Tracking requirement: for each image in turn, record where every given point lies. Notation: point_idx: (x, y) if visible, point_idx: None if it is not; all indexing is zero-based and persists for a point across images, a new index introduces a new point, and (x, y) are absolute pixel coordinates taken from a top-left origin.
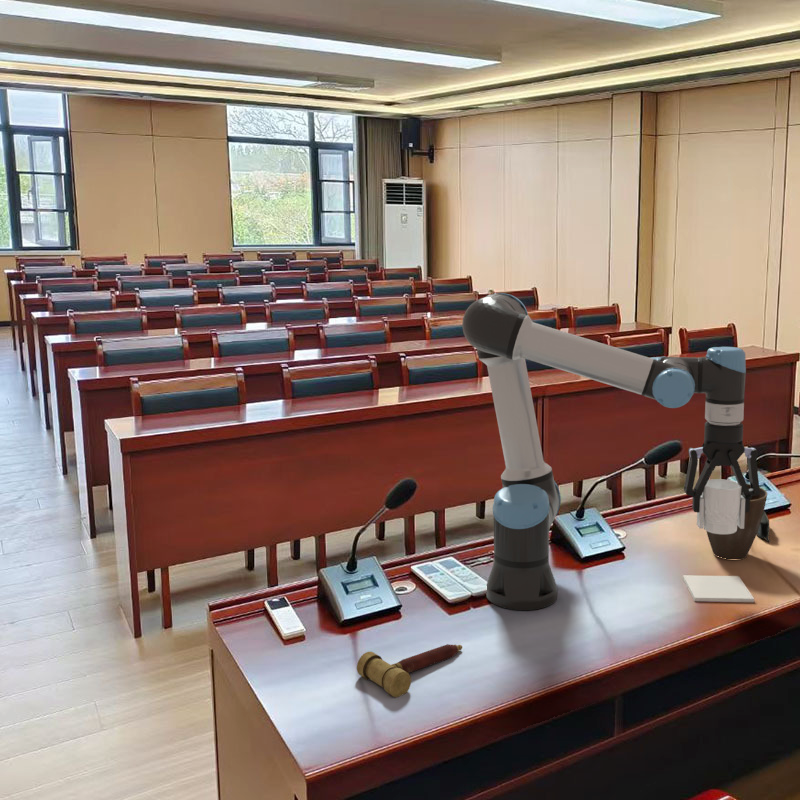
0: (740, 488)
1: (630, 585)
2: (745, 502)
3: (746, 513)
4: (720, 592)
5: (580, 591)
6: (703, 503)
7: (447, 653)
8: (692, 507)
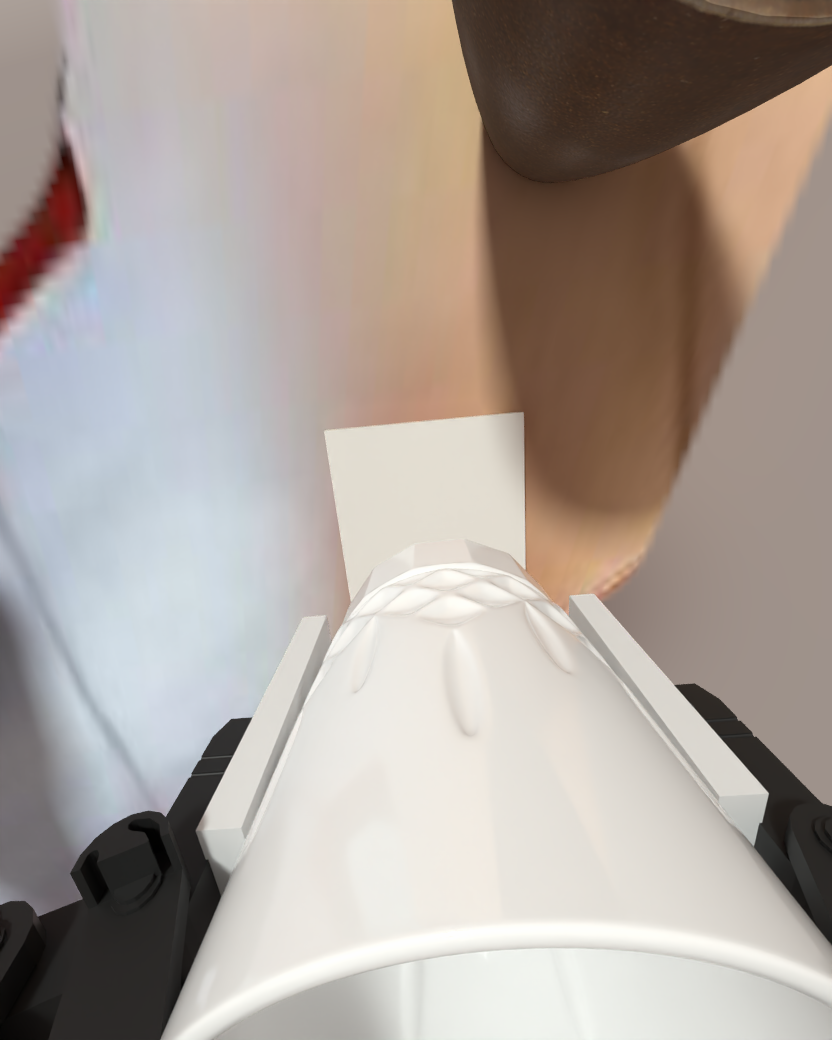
0: None
1: (157, 511)
2: None
3: (773, 93)
4: None
5: (15, 576)
6: None
7: None
8: (211, 747)
